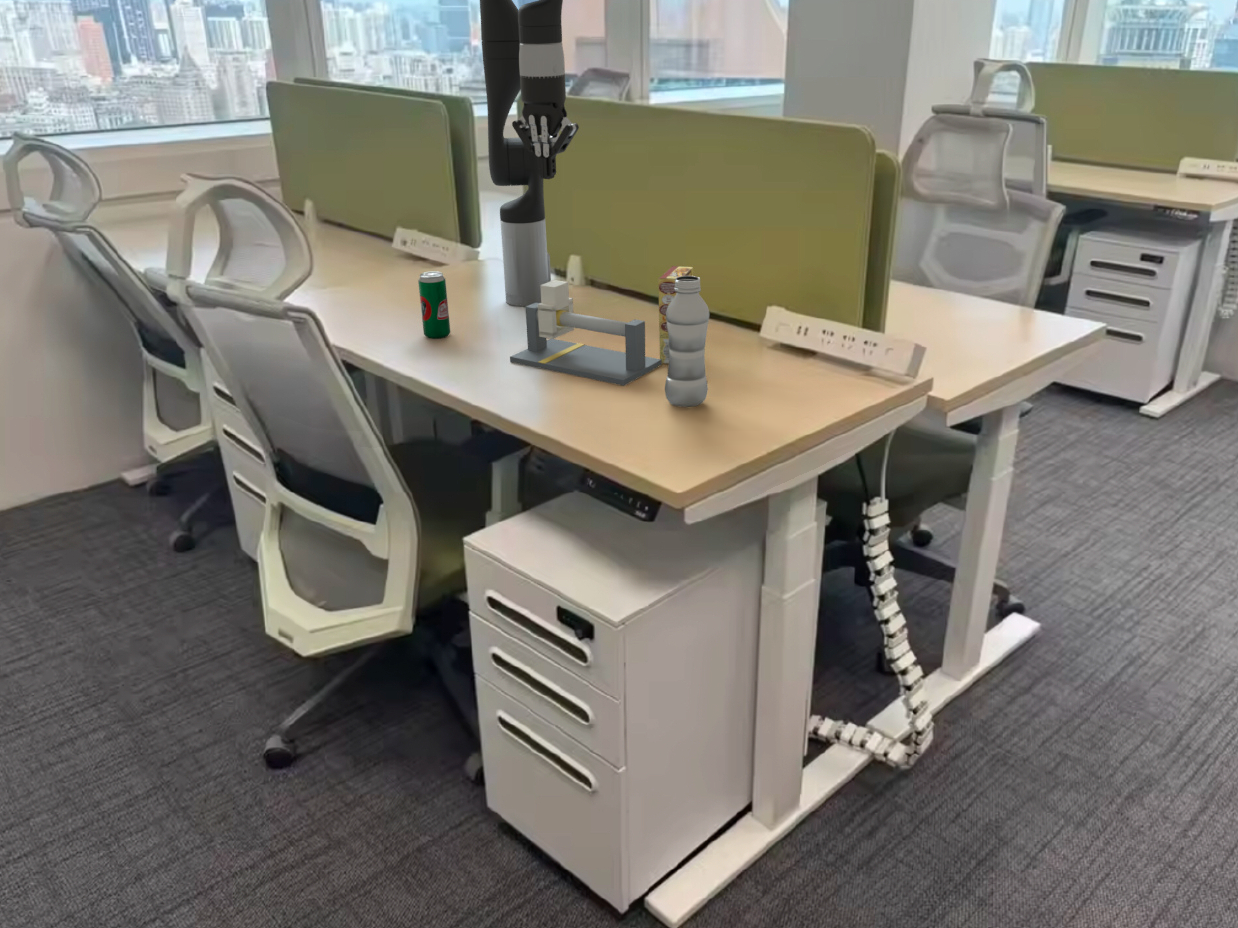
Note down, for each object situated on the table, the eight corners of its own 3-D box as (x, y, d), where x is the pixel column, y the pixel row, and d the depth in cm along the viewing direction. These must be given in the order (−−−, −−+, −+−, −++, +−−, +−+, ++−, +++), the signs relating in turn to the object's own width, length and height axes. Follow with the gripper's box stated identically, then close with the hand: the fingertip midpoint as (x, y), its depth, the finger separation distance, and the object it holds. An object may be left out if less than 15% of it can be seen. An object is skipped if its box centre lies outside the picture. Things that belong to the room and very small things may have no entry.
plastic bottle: (662, 398, 160) (661, 274, 151) (704, 396, 160) (706, 272, 152) (667, 413, 154) (667, 285, 145) (711, 410, 154) (713, 283, 146)
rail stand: (551, 343, 186) (548, 296, 182) (661, 365, 174) (661, 314, 170) (510, 362, 177) (506, 312, 173) (623, 385, 165) (622, 333, 161)
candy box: (681, 366, 173) (682, 279, 167) (658, 364, 175) (657, 277, 168) (693, 350, 181) (694, 266, 175) (671, 348, 182) (671, 265, 176)
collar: (560, 327, 180) (558, 278, 176) (573, 329, 178) (571, 280, 174) (539, 336, 175) (536, 286, 171) (553, 339, 174) (550, 288, 170)
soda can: (445, 340, 189) (439, 278, 184) (420, 339, 190) (413, 277, 185) (454, 332, 194) (448, 271, 189) (429, 331, 195) (423, 270, 190)
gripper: (587, 71, 166) (591, 178, 174) (524, 68, 173) (530, 171, 181) (561, 76, 161) (566, 186, 169) (497, 72, 167) (504, 178, 175)
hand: (547, 178), depth 175 cm, fingers closed
